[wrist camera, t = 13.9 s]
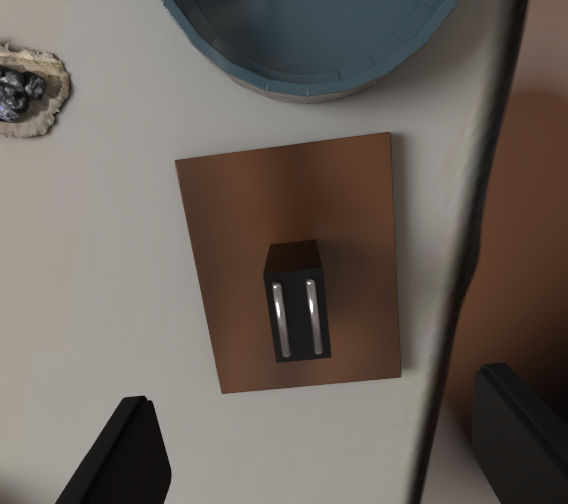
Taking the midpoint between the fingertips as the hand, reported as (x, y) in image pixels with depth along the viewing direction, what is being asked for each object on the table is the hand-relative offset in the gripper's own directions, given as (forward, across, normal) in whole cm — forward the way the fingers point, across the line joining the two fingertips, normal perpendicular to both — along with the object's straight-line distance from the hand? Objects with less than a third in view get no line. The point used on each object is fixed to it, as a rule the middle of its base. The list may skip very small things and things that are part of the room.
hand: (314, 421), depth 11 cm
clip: (+16, 0, +2) cm, 16 cm away
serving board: (+17, 0, +2) cm, 17 cm away
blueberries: (+18, +18, -13) cm, 28 cm away
